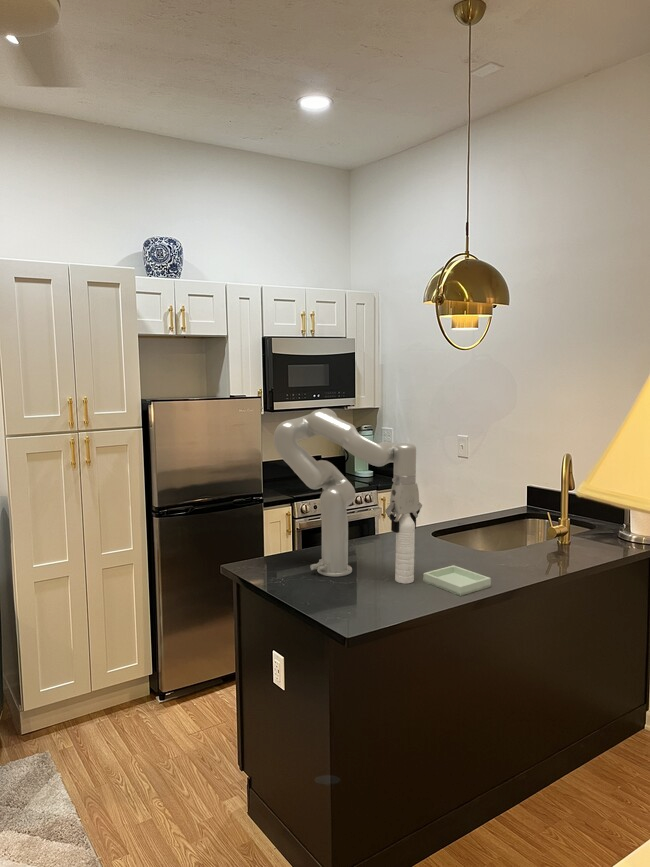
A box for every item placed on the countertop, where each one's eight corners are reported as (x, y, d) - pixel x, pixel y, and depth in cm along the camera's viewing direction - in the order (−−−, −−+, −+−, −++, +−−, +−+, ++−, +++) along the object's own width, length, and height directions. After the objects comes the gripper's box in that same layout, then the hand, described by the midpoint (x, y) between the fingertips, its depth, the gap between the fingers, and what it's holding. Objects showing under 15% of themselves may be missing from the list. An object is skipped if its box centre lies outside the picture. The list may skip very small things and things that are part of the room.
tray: (460, 596, 211) (460, 587, 211) (423, 581, 225) (423, 573, 225) (490, 586, 220) (490, 578, 220) (453, 573, 234) (453, 565, 234)
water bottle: (417, 582, 224) (418, 511, 221) (401, 585, 222) (402, 513, 219) (404, 574, 232) (405, 506, 229) (388, 577, 229) (389, 507, 227)
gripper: (392, 484, 215) (392, 536, 217) (430, 478, 225) (429, 528, 227) (378, 480, 221) (377, 531, 223) (415, 475, 231) (414, 524, 233)
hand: (403, 529), depth 225 cm, fingers open, 7 cm apart
